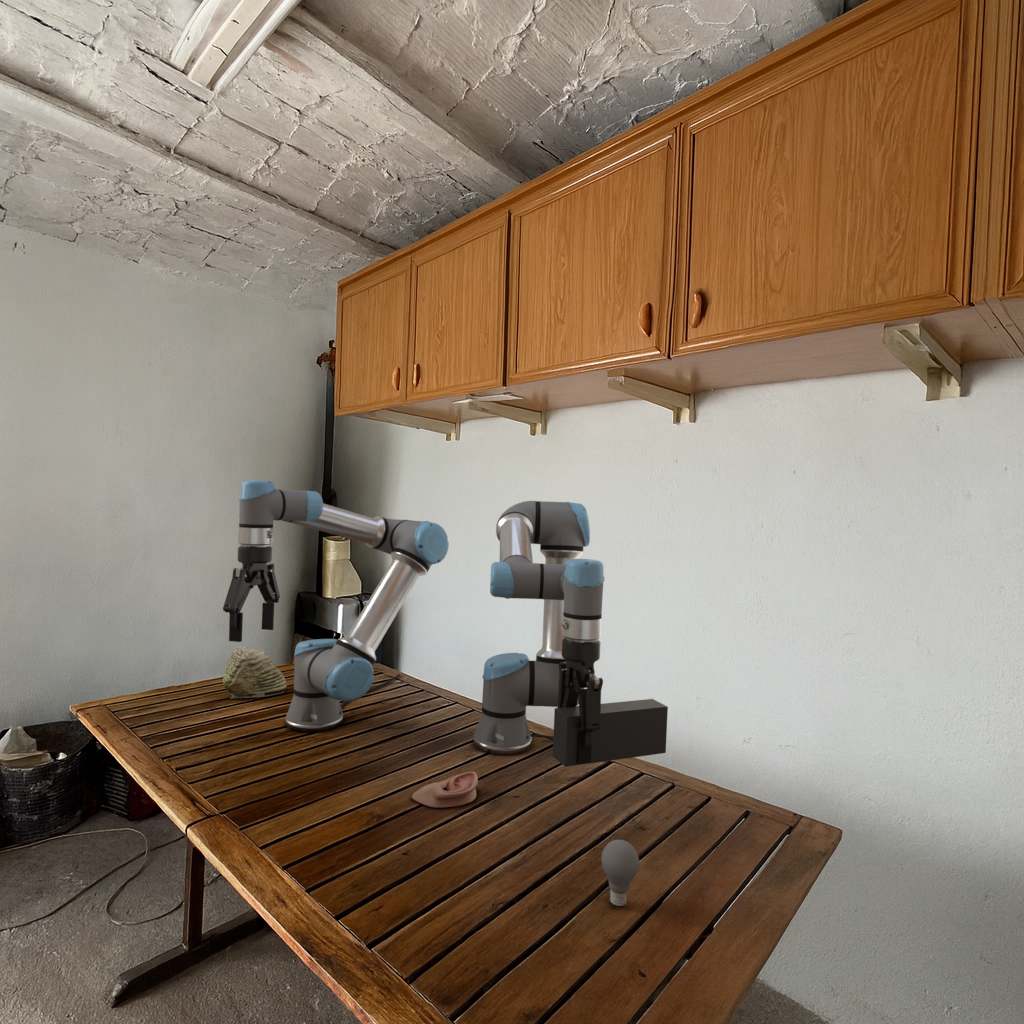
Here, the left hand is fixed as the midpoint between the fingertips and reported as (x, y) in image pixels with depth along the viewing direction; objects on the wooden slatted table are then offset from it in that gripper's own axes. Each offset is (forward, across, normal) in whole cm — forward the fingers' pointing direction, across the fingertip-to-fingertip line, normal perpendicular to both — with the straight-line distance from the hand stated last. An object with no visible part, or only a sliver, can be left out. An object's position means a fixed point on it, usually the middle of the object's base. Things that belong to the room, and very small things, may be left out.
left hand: (252, 635), depth 150 cm
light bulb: (+30, -36, -86) cm, 98 cm away
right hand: (+15, -14, -78) cm, 81 cm away
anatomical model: (+30, -7, -50) cm, 59 cm away
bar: (+16, -10, -84) cm, 87 cm away
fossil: (+30, +45, +25) cm, 59 cm away
